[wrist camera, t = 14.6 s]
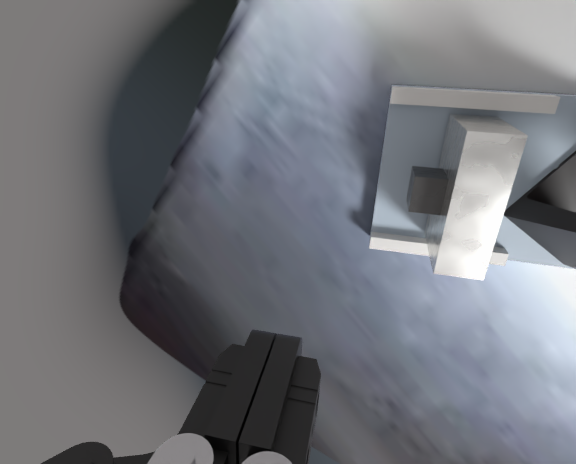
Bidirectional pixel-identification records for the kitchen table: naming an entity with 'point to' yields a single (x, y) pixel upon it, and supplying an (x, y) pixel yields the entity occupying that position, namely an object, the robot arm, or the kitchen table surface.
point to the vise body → (428, 147)
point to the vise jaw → (467, 193)
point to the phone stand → (551, 212)
